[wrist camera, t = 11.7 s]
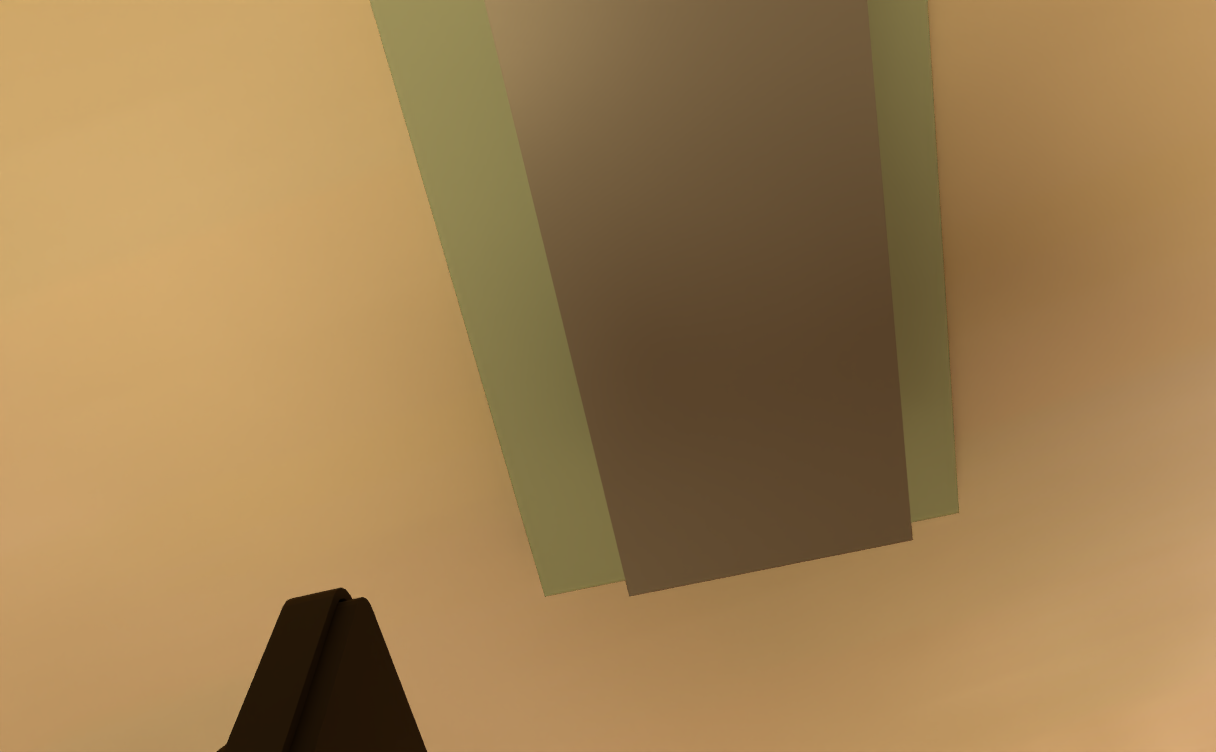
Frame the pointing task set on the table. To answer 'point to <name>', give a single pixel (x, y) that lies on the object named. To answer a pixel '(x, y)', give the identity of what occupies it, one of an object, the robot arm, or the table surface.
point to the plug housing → (718, 271)
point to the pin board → (525, 296)
